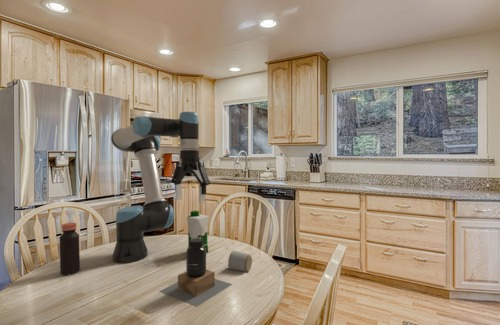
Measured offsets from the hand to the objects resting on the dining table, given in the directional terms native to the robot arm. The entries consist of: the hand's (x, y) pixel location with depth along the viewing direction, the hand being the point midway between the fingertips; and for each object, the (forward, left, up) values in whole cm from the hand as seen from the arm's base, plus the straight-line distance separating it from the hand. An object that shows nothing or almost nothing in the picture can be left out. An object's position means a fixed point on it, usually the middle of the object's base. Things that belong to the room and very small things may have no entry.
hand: (190, 201), depth 117 cm
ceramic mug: (+17, +12, -29) cm, 36 cm away
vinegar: (-40, -29, -29) cm, 57 cm away
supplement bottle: (+15, -12, -23) cm, 30 cm away
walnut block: (+15, -12, -28) cm, 34 cm away
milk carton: (-12, +17, -29) cm, 35 cm away
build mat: (+15, -12, -29) cm, 35 cm away
